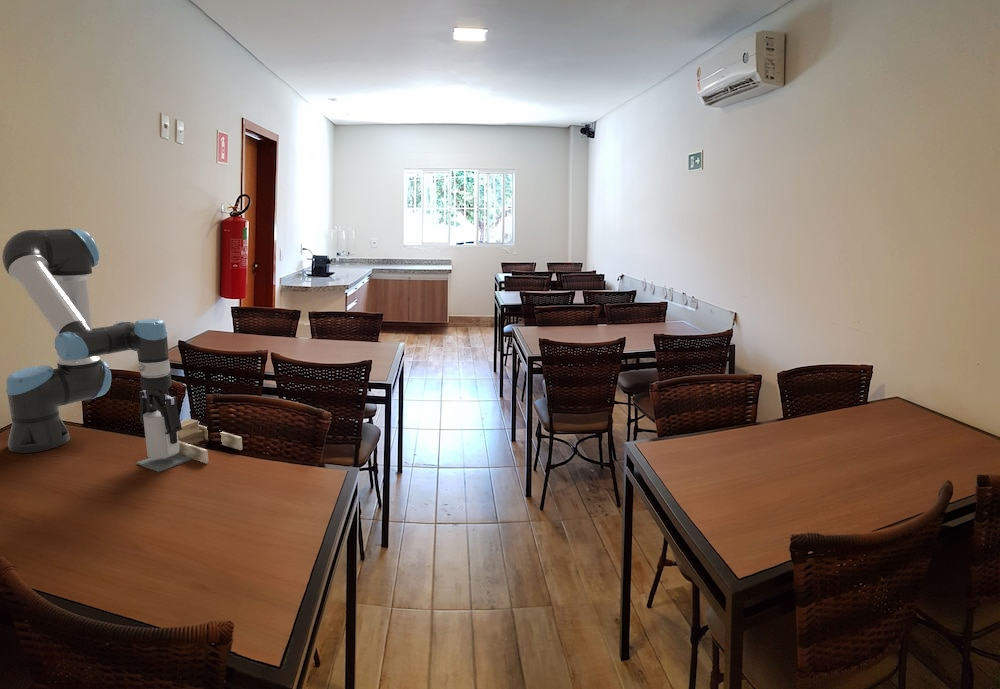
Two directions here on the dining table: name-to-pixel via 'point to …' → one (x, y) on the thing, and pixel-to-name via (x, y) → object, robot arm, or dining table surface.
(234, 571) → the dining table surface
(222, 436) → the rack
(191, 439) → the offcut low
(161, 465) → the mat
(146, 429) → the cup
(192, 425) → the offcut top
